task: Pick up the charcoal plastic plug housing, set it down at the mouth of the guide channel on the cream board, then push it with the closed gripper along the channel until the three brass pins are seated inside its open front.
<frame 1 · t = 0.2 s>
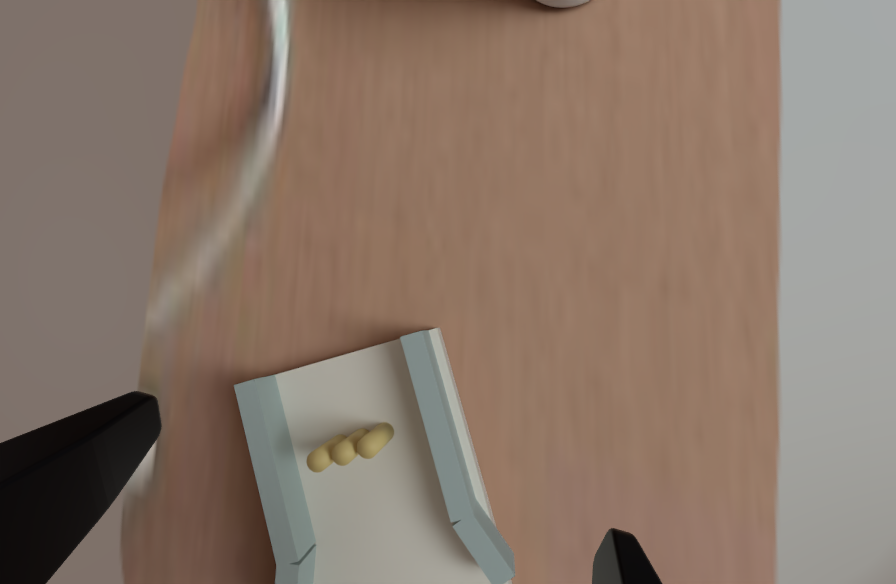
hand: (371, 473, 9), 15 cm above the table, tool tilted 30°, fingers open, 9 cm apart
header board: (395, 534, 24), on the table
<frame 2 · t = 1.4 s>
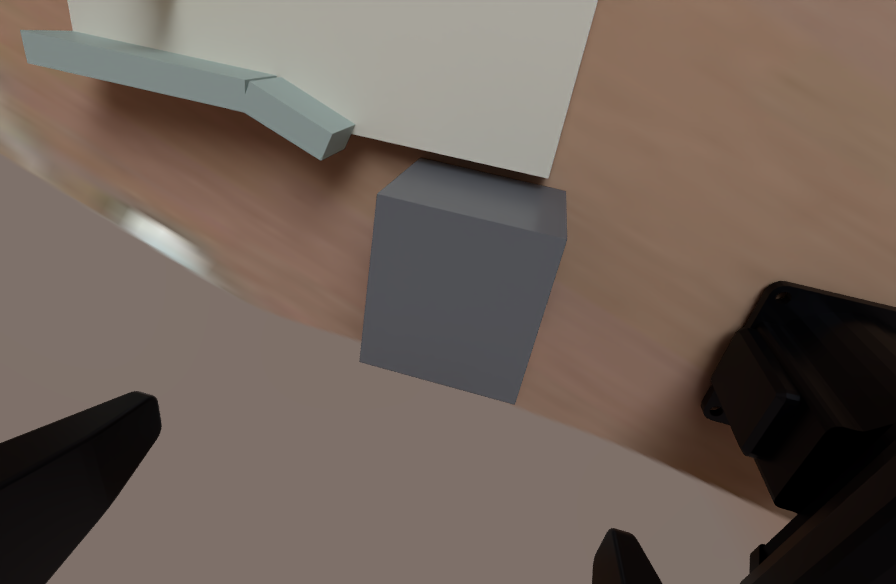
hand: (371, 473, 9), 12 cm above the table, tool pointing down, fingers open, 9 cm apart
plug: (475, 248, 20), on the table
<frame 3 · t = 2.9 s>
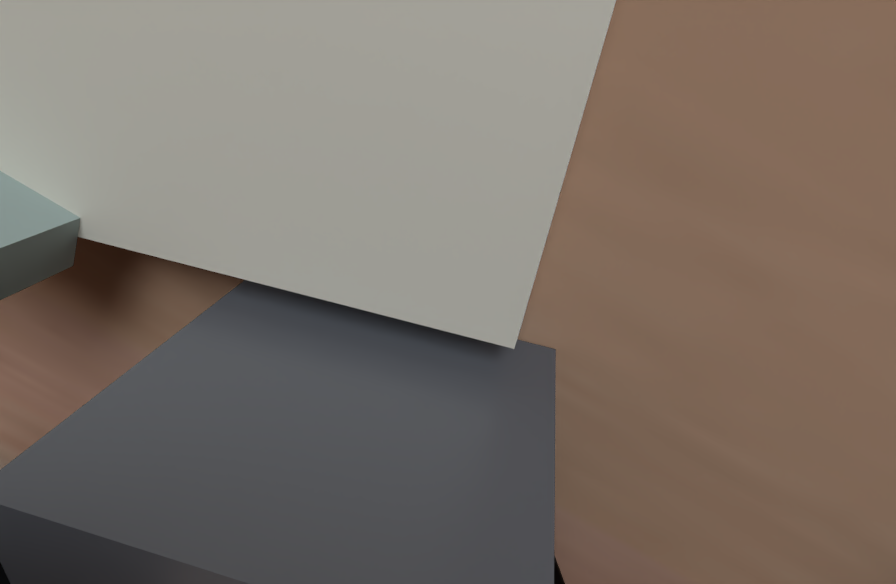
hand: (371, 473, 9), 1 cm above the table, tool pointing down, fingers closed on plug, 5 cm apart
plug: (382, 434, 10), on the table, touching gripper
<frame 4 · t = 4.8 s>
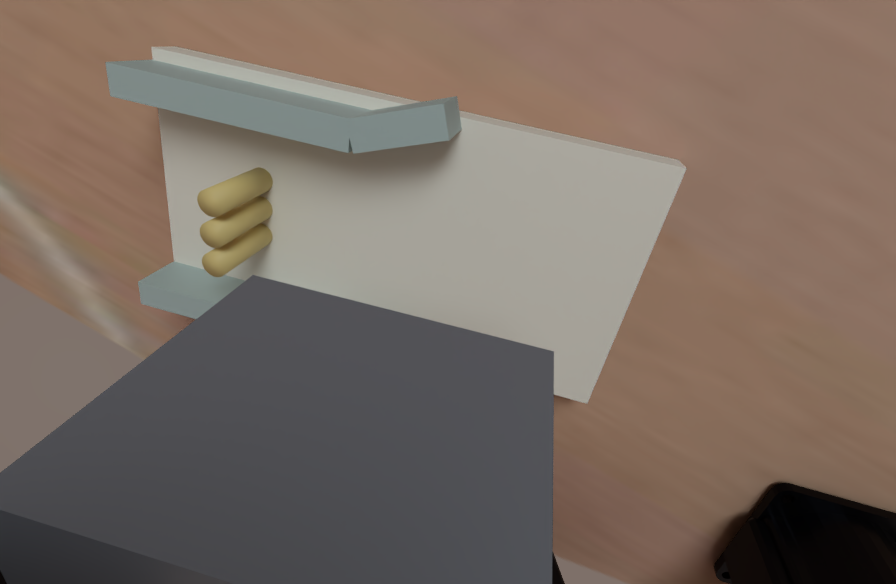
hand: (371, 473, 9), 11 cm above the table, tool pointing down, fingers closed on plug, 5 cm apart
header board: (396, 228, 19), on the table
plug: (381, 436, 10), point 10 cm above the table, touching gripper
when the fingers open (4 cm above the table, at t = 6.5 s): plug drops 1 cm, resting on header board.
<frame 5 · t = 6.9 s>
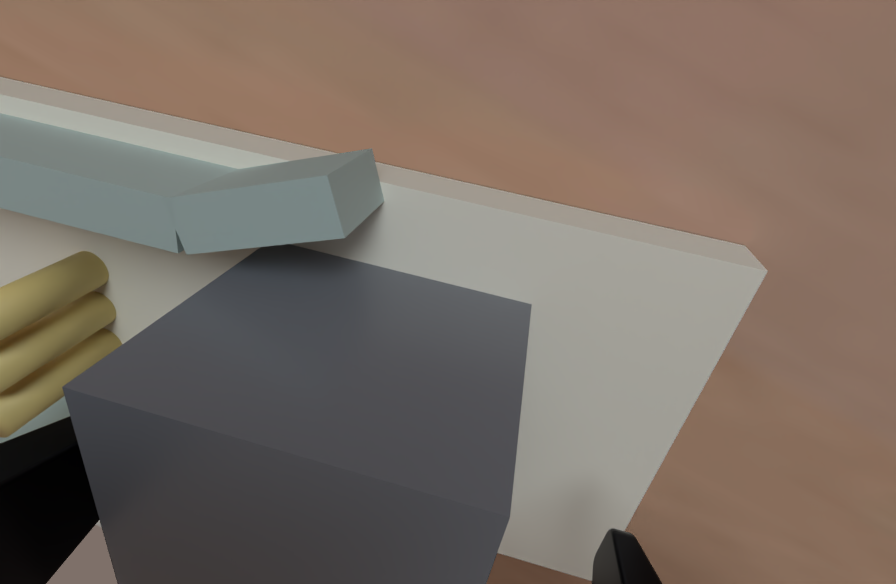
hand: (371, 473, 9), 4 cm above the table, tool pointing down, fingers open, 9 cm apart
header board: (308, 331, 13), on the table
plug: (382, 386, 12), point 1 cm above the table, touching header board
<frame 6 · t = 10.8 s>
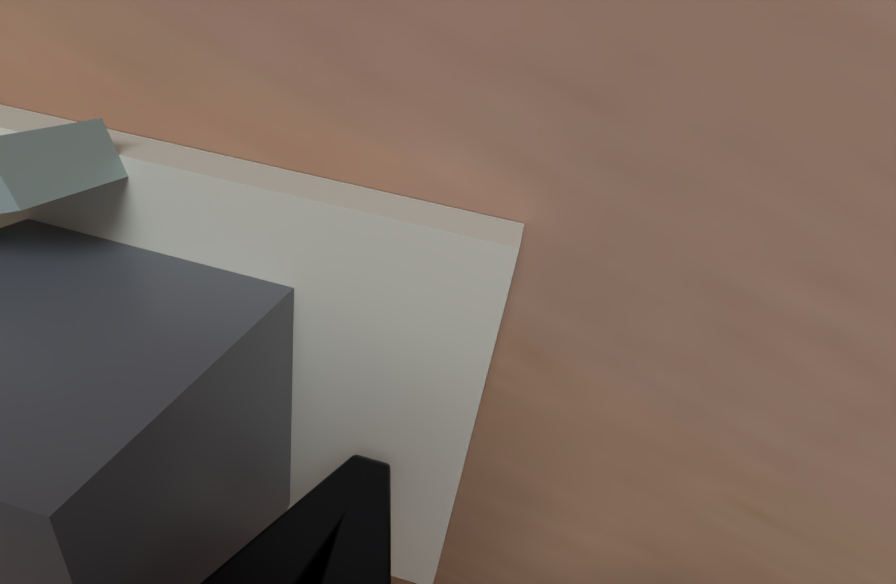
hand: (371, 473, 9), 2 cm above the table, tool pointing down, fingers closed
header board: (121, 322, 12), on the table
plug: (173, 377, 11), point 1 cm above the table, touching gripper
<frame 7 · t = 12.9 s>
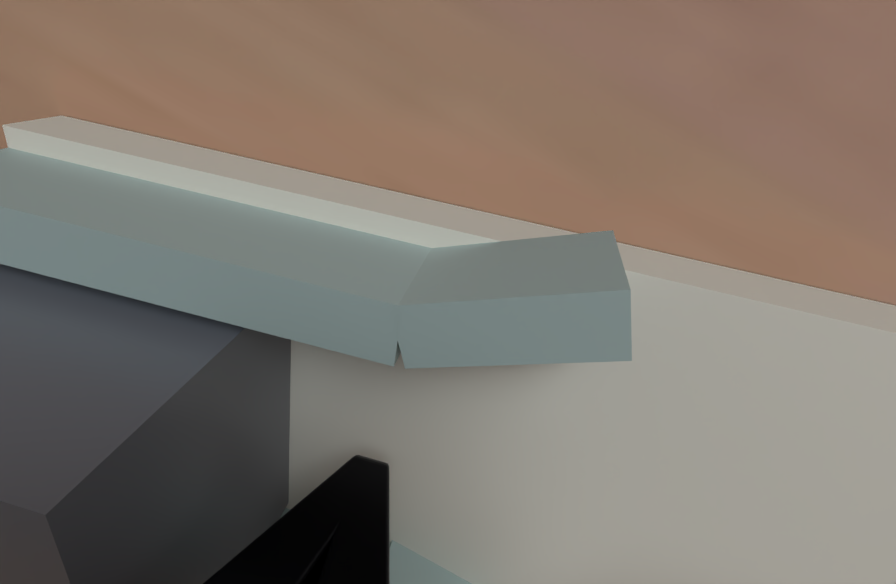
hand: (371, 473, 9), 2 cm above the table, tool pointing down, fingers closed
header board: (459, 412, 11), on the table
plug: (170, 375, 11), point 1 cm above the table, touching gripper, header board
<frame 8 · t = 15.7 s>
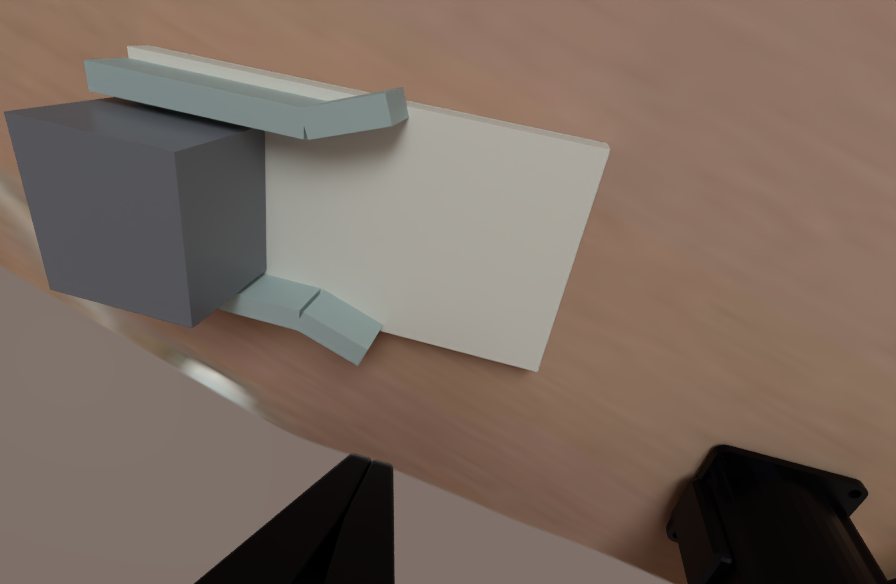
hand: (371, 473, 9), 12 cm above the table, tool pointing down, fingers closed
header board: (358, 212, 21), on the table
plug: (202, 187, 20), point 1 cm above the table, touching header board
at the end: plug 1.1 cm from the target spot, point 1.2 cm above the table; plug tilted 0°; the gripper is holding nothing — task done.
